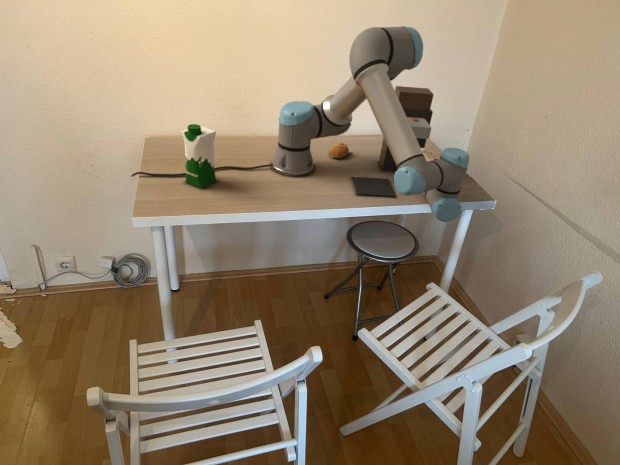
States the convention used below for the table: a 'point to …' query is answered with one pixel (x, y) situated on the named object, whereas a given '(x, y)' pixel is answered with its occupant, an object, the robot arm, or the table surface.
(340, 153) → the pastry
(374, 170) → the table surface
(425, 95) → the coffee maker
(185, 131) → the milk carton
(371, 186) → the rubber mat
